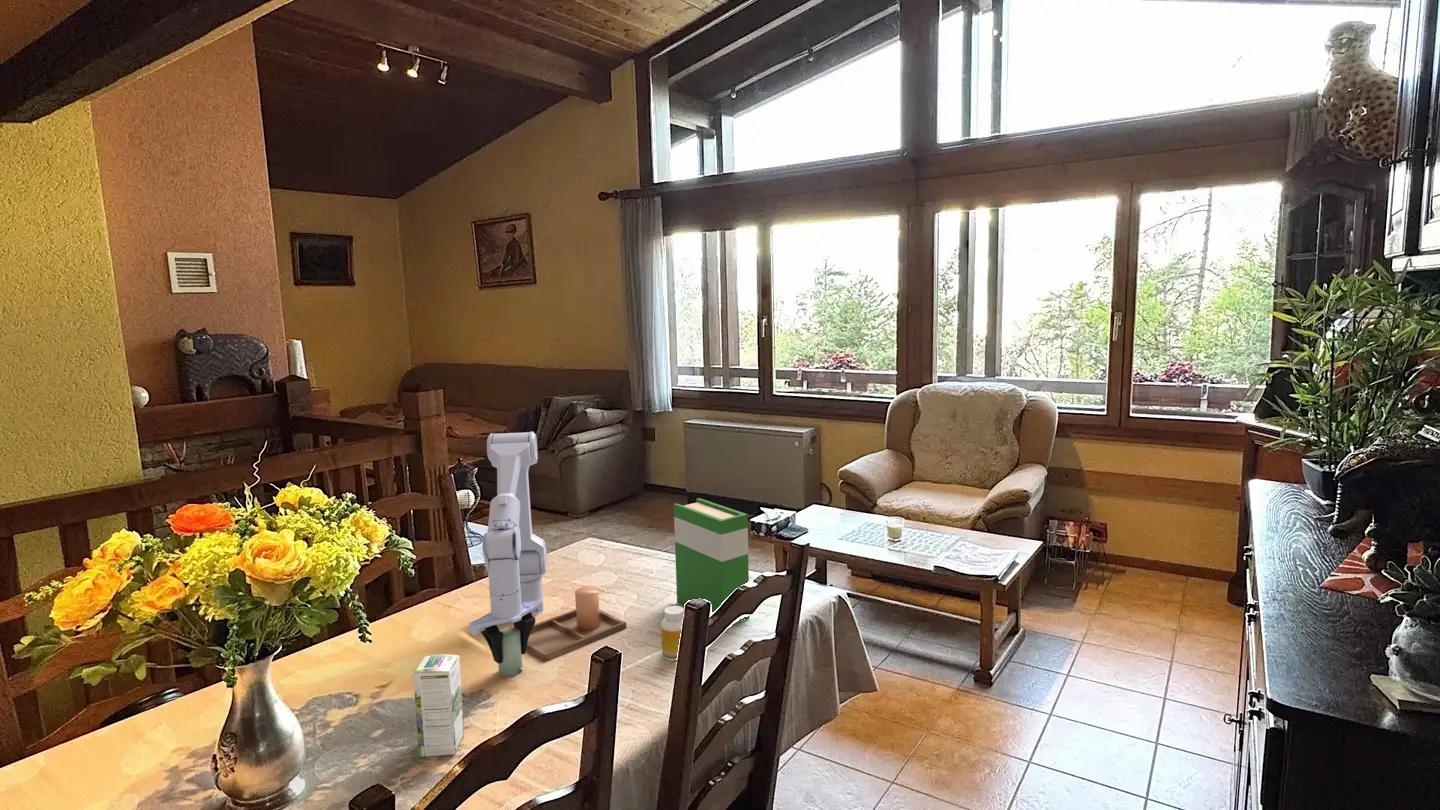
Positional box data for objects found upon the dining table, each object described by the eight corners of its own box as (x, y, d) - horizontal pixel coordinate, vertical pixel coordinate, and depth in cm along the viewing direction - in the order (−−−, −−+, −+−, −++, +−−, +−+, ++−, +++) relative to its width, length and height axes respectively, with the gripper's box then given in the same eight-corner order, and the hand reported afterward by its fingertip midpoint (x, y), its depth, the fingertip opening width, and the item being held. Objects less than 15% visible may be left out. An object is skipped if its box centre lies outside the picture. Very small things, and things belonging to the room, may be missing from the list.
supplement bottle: (685, 663, 146) (683, 616, 144) (659, 661, 147) (657, 614, 145) (691, 650, 151) (690, 604, 149) (666, 648, 152) (664, 603, 150)
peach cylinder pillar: (572, 625, 161) (570, 591, 160) (591, 618, 165) (589, 584, 164) (585, 632, 158) (583, 597, 157) (604, 625, 161) (603, 590, 160)
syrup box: (429, 737, 123) (422, 655, 121) (465, 734, 123) (459, 652, 121) (418, 758, 117) (410, 672, 115) (456, 755, 118) (449, 670, 116)
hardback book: (677, 602, 174) (673, 504, 171) (702, 594, 179) (699, 498, 175) (723, 627, 160) (720, 521, 157) (749, 618, 165) (747, 514, 161)
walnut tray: (510, 642, 156) (509, 633, 156) (589, 612, 170) (588, 604, 170) (546, 664, 146) (545, 655, 146) (626, 631, 160) (626, 622, 160)
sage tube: (494, 671, 144) (492, 632, 143) (515, 663, 147) (512, 625, 146) (506, 679, 141) (503, 639, 140) (526, 670, 144) (524, 632, 143)
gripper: (479, 608, 134) (485, 678, 136) (549, 584, 144) (553, 650, 146) (461, 597, 139) (467, 665, 141) (530, 575, 149) (534, 639, 151)
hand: (509, 657), depth 144 cm, fingers closed on sage tube, 4 cm apart
